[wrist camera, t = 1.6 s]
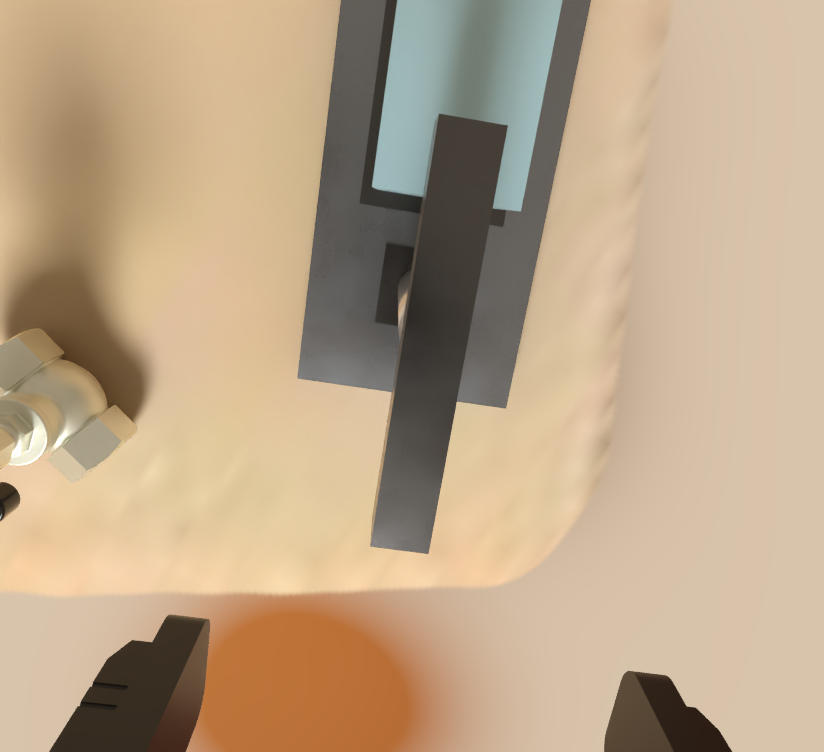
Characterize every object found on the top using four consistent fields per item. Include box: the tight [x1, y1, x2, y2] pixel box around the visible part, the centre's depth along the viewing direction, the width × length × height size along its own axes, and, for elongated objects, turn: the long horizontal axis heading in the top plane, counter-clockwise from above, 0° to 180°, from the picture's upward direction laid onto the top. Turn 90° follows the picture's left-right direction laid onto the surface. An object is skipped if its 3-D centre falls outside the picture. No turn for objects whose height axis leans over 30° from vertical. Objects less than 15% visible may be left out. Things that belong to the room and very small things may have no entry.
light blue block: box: [372, 0, 562, 212], centre depth 23 cm, size 5×8×7 cm, turn 171°
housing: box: [298, 0, 591, 408], centre depth 29 cm, size 10×18×2 cm, turn 171°
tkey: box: [370, 114, 508, 554], centre depth 23 cm, size 2×12×11 cm, turn 171°
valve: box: [0, 328, 137, 521], centre depth 26 cm, size 7×7×12 cm
